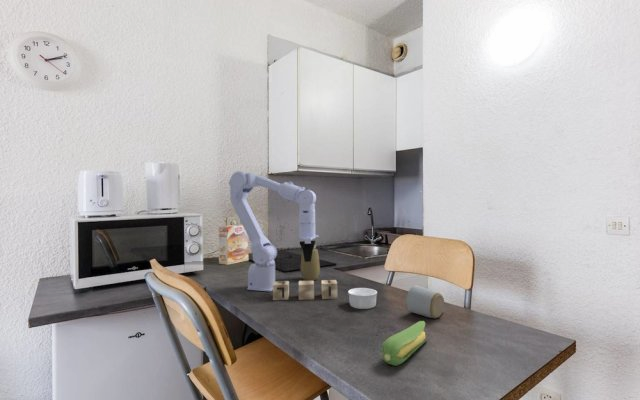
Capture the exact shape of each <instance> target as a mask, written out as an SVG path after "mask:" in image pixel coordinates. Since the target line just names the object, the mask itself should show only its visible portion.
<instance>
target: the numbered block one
mask: <svg viewBox="0 0 640 400" xmlns="http://www.w3.org/2000/svg"><path fill="white" fill-rule="evenodd" d="M320 283H321V299H322V300H326V299H327V300H332V299H333V300H334V299H338V281H337V279H322V280H321V282H320Z"/></svg>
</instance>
